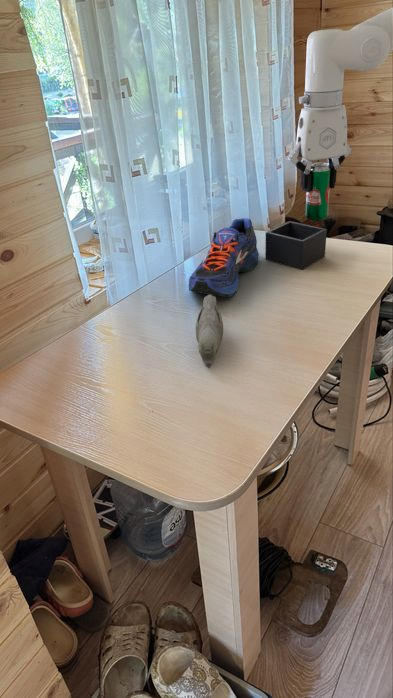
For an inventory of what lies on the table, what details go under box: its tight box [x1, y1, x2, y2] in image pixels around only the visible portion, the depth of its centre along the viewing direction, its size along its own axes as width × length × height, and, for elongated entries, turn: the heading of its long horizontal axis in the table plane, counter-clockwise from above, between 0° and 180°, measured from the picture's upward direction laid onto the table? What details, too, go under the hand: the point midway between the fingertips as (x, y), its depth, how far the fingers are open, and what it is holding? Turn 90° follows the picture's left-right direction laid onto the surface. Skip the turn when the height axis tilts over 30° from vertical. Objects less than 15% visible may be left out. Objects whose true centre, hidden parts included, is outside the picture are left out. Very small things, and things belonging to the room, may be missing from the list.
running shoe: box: [188, 217, 260, 298], centre depth 125 cm, size 12×32×13 cm, turn 159°
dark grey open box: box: [265, 220, 328, 271], centre depth 134 cm, size 12×11×8 cm
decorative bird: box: [195, 294, 224, 369], centre depth 100 cm, size 5×16×7 cm, turn 177°
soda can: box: [305, 161, 331, 222], centre depth 116 cm, size 5×5×12 cm
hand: (318, 188), depth 115 cm, fingers closed on soda can, 5 cm apart
